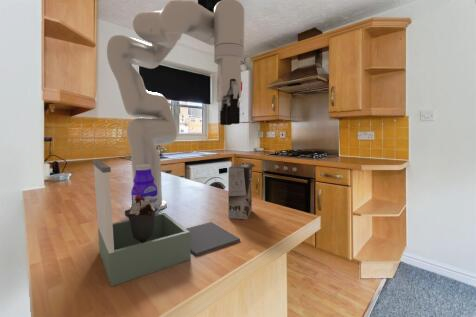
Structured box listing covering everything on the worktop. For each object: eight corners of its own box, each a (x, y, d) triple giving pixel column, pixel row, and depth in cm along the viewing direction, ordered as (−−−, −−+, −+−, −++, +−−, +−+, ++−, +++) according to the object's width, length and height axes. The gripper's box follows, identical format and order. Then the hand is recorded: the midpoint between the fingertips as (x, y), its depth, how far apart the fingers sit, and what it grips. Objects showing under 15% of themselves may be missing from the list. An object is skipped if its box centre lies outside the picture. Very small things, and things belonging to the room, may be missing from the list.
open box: (98, 252, 53) (92, 159, 51) (165, 235, 62) (162, 155, 60) (109, 287, 41) (102, 167, 39) (190, 259, 50) (188, 161, 48)
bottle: (141, 228, 66) (138, 167, 64) (129, 224, 69) (126, 165, 67) (162, 220, 72) (160, 164, 71) (150, 217, 75) (147, 162, 74)
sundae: (133, 249, 55) (129, 184, 53) (163, 247, 55) (160, 184, 54) (121, 264, 48) (117, 192, 47) (155, 263, 49) (152, 191, 47)
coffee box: (248, 219, 73) (248, 167, 71) (227, 218, 74) (227, 167, 73) (252, 210, 82) (252, 164, 80) (234, 209, 83) (234, 163, 81)
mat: (171, 234, 63) (171, 232, 63) (211, 223, 70) (211, 221, 70) (196, 256, 51) (195, 253, 51) (240, 241, 59) (240, 238, 59)
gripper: (210, 64, 68) (211, 125, 70) (219, 42, 51) (219, 123, 53) (236, 66, 70) (236, 125, 71) (253, 45, 53) (252, 123, 55)
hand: (229, 124), depth 62 cm, fingers open, 9 cm apart
